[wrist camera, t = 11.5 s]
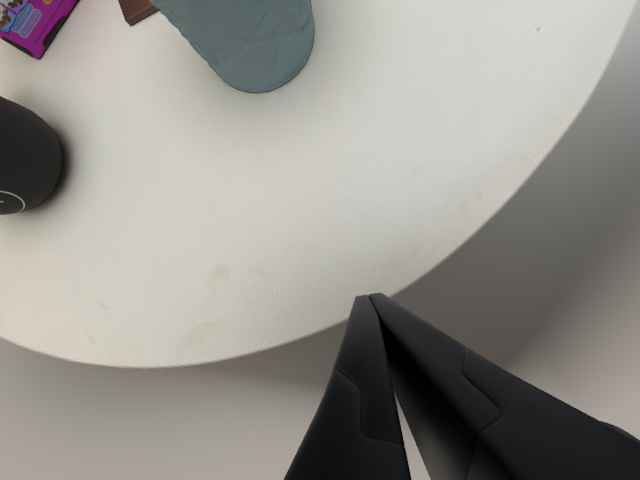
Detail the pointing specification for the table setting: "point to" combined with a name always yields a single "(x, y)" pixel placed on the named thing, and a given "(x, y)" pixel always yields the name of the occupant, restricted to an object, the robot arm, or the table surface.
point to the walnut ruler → (136, 10)
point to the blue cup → (246, 37)
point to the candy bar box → (32, 23)
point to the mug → (26, 158)
